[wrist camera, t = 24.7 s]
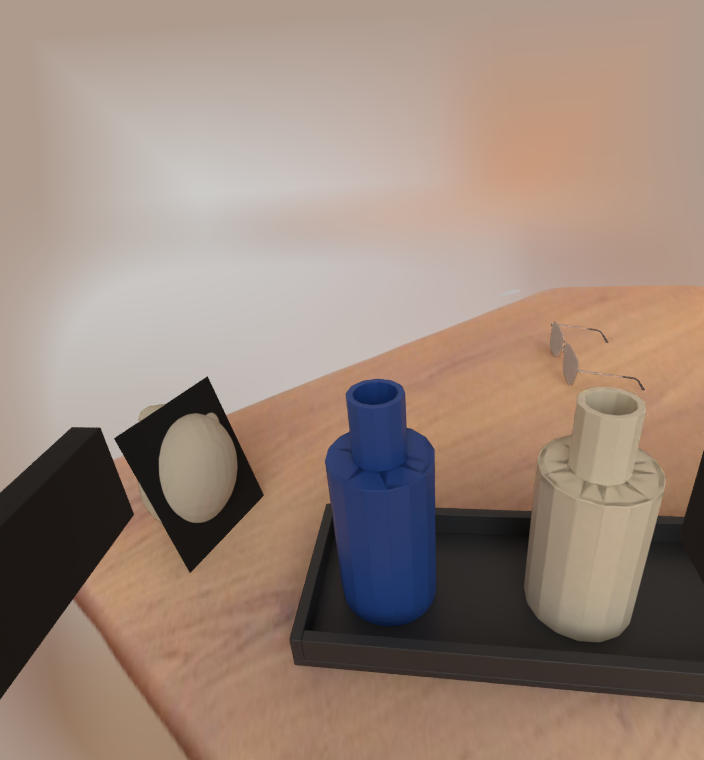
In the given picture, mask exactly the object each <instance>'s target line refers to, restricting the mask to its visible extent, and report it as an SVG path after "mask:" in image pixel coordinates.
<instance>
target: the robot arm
mask: <svg viewBox="0 0 704 760" xmlns="http://www.w3.org/2000/svg"><path fill="white" fill-rule="evenodd" d="M133 515H134V513H133V510H132V508H131V505H130V503H129V500H128V498H127V495H126V492H125V490H124V487H123V485H122V482H121V480H120V477H119V474H118V472H117V469H116V467H115V464H114V462H113V459H112V457H111V454H110V451H109V449H108V446H107V444H106V441H105V439H104V436H103V434H102V431H101V428H83V427H80V428H79V427H72V428H71V429H69V430H68V431H67V432H66V433H65V434H64V435H63V436H62V437H61V438H60V439H58V440H57V441H56V442H55V443H54V444H53V445H52V446H51V447H50V448H49V449H48V450H47V451H45V452H44V453H43V454H42V455H41V456H40V457H39V458H38V459H37V460H36V461H34V462H33V463H32V465H30V466H29V467H28V468H27V469H26V470H25V471H24V472H22V473H21V474H20V475H19V476H18V477H17V478H16V479H15V480H14V481H13V482H12V483H10V485H8V486H7V487H6V488H5V489H4V490H3V491H2V492H1V493H0V699H1V698H2V696H3V695H4V693H5V692H6V691H7V689H8V688H9V687H10V685H11V684H12V682H13V681H14V679H15V678H16V677H17V676H18V674H19V673H20V671H21V670H22V668H23V667H24V666H25V664H26V663H27V662H28V660H29V659H30V658H31V656H32V655H33V653H34V652H35V651H36V649H37V648H38V647H39V645H40V644H41V642H42V641H43V639H44V638H45V636H46V635H47V634H48V633H49V631H50V630H51V629H52V627H53V626H54V624H55V623H56V621H57V620H58V619H59V617H60V616H61V615H62V613H63V612H64V611H65V609H66V608H67V606H68V605H69V604H70V602H71V601H72V600H73V598H74V597H75V595H76V594H77V593H78V591H79V590H80V588H81V587H82V586H83V584H84V583H85V582H86V580H87V579H88V577H89V576H90V575H91V573H92V572H93V571H94V569H95V568H96V566H97V565H98V564H99V562H100V561H101V559H102V558H103V557H104V555H105V554H106V553H107V551H108V550H109V548H110V547H111V546H112V544H113V543H114V541H115V540H116V539H117V537H118V536H119V535H120V533H121V532H122V530H123V529H124V528H125V526H126V525H127V524H128V522H129V521H130V519H131V518H132V517H133ZM679 538H680V540H681V542H682V544H683V546H684V548H685V550H686V552H687V554H688V555H689V557H690V559H691V561H692V563H693V565H694V567H695V569H696V571H697V573H698V574H699V576H700V578H701V580H702V582H703V584H704V451H703V455H702V458H701V462H700V465H699V469H698V472H697V476H696V479H695V483H694V486H693V490H692V493H691V497H690V500H689V504H688V507H687V511H686V514H685V518H684V521H683V525H682V528H681V532H680V535H679Z"/></svg>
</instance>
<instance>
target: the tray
mask: <svg viewBox="0 0 704 760" xmlns="http://www.w3.org/2000/svg"><path fill="white" fill-rule="evenodd" d="M531 515H532V511H510V510H483V509H456V508H435V538H436V593H435V597H434V600H433V602H432V604H431V606H430V607H429V609H428V610H427V611H426V612H425V613H424V614H423V615H422V616H420V617H419V618H418V619H416V620H414V621H412V622H410V623H407V624H404V625H400V626H379V625H375V624H372V623H369V622H367V621H365V620H363V619H362V618H360V617H359V616H357V615H356V614H355V613H354V612H353V611H352V609H351V608H350V607H349V605H348V604H347V602H346V599H345V596H344V590H343V587H342V581H341V574H340V566H339V559H338V552H337V544H336V537H335V530H334V523H333V515H332V508H331V504H326V507H325V511H324V515H323V518H322V522H321V526H320V529H319V533H318V537H317V540H316V544H315V548H314V551H313V555H312V559H311V562H310V566H309V570H308V573H307V577H306V581H305V584H304V588H303V592H302V595H301V599H300V603H299V606H298V610H297V614H296V617H295V621H294V625H293V628H292V632H291V636H290V639H289V640H290V645H291V649H292V654H293V658H294V664H295V665H303V666H314V667H325V668H336V669H347V670H358V671H369V672H379V673H390V674H401V675H412V676H423V677H434V678H445V679H456V680H467V681H478V682H488V683H499V684H510V685H521V686H532V687H543V688H554V689H565V690H576V691H587V692H597V693H608V694H619V695H630V696H641V697H652V698H663V699H674V700H685V701H696V702H704V584H703V582H702V580H701V578H700V576H699V574H698V573H697V571H696V569H695V567H694V565H693V563H692V561H691V559H690V557H689V555H688V554H687V552H686V550H685V548H684V546H683V544H682V542H681V540H680V538H679V535H680V532H681V528H682V525H683V521H684V518H685V517H672V516H658V517H657V521H656V524H655V528H654V532H653V536H652V540H651V544H650V547H649V551H648V555H647V559H646V563H645V567H644V570H643V574H642V578H641V582H640V586H639V590H638V593H637V597H636V601H635V605H634V609H633V613H632V616H631V620H630V623H629V625H628V626H627V627H626V629H625V630H624V631H623V632H622V633H621V634H620V635H619V636H618V637H615V638H612V639H609V640H606V641H603V642H585V641H576V640H574V639H571V638H569V637H566V636H563V635H561V634H558V633H556V632H554V631H553V630H552V629H551V628H549V627H548V626H547V625H545V624H544V623H543V622H541V621H540V620H539V619H538V618H537V617H536V615H535V614H534V612H533V611H532V609H531V608H530V606H529V605H528V603H527V600H526V595H525V590H524V581H525V571H526V562H527V553H528V543H529V534H530V524H531Z"/></svg>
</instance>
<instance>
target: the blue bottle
mask: <svg viewBox="0 0 704 760" xmlns="http://www.w3.org/2000/svg"><path fill="white" fill-rule="evenodd" d="M346 401H347V410H348V420H349V429H350V432H348V433H346V434H344V435H342V436H340V437H339V438H338V439H337V440H336V441H335V442H334V443H333V444H332V445H331V446H330V447H329V449H328V452H327V456H326V459H325V464H326V472H327V479H328V486H329V493H330V501H331V508H332V515H333V523H334V530H335V537H336V544H337V552H338V559H339V566H340V574H341V581H342V587H343V590H344V596H345V599H346V602H347V604H348V605H349V607H350V608H351V609H352V611H353V612H354V613H355V614H356V615H357V616H359V617H360V618H362V619H363V620H365V621H367V622H369V623H372V624H375V625H379V626H400V625H404V624H407V623H410V622H412V621H414V620H416V619H418V618H419V617H420V616H422V615H423V614H424V613H425V612H426V611H427V610H428V609H429V607H430V606H431V604H432V602H433V600H434V597H435V593H436V538H435V454H434V448H433V446H432V445H431V444H430V442H429V441H428V439H427V438H426V437H425V436H423V435H421V434H419V433H418V432H416V431H414V430H413V429H409V428H407V426H406V402H405V392H404V389H403V387H402V386H401V385H400V384H398V383H396V382H394V381H391V380H384V379H372V380H365V381H362V382H359V383H357V384H355V385H353V386H351V387H350V389H349V390H348V391H347V393H346Z"/></svg>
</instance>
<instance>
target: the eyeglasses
mask: <svg viewBox="0 0 704 760" xmlns="http://www.w3.org/2000/svg"><path fill="white" fill-rule="evenodd" d="M551 326H552V331H551V338H550V348H551V351H552V353H553V355H554V356H555V357H556V358H557V357H558V356H559V354H560V352H561V351H562V348H563V342H565V343H566V345H565V346H564V348H563V349H564V350H563V353H564V352H565V354H564V362H563V372H564V376H565V378H566V380H567V382H568V384H569V385H573V383H574V381H575V378H576V375H577V372H582V373H590V374H599V375H607V376H615V377H623V378H630V379H635V380H637V381H638V383H639V385H640V387H641V389H642V390H645V389H644V388H643V386H642V384H641V383H640V381H639V380H638V379H636V378H633V377H626V376H617V375H611V374H604V373H597V372H590V371H583V370H579V362H578V359H577V356H576V354H575V352H574V351H573V349H572V347H571V346H570V345H569V344H567V342H566V341H564V337H563V333H562V331H561V329H560V327H559V326H565V327H574V326H567V325H560V324H557V323H556V322H555V321H554V322H553V324H552V323H551ZM574 328H581V327H574ZM582 329H588V330H595V331H599V330H596V329H590V328H582ZM599 332H600V333H601V334H602V336H603V337H604V339H605V341H606V342H607V343H608V341H607V339H606V338H605V336H604V335H603V333H602V332H601V331H599Z"/></svg>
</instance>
